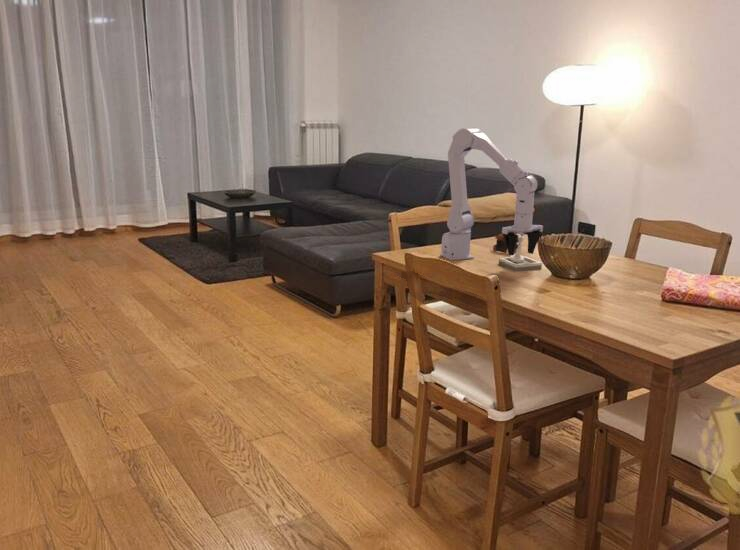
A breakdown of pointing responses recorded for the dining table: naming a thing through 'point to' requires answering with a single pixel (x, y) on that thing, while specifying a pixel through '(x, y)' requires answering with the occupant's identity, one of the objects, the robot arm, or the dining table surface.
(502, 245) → the pottery mug
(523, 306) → the dining table surface
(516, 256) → the chess piece
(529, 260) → the picture frame
